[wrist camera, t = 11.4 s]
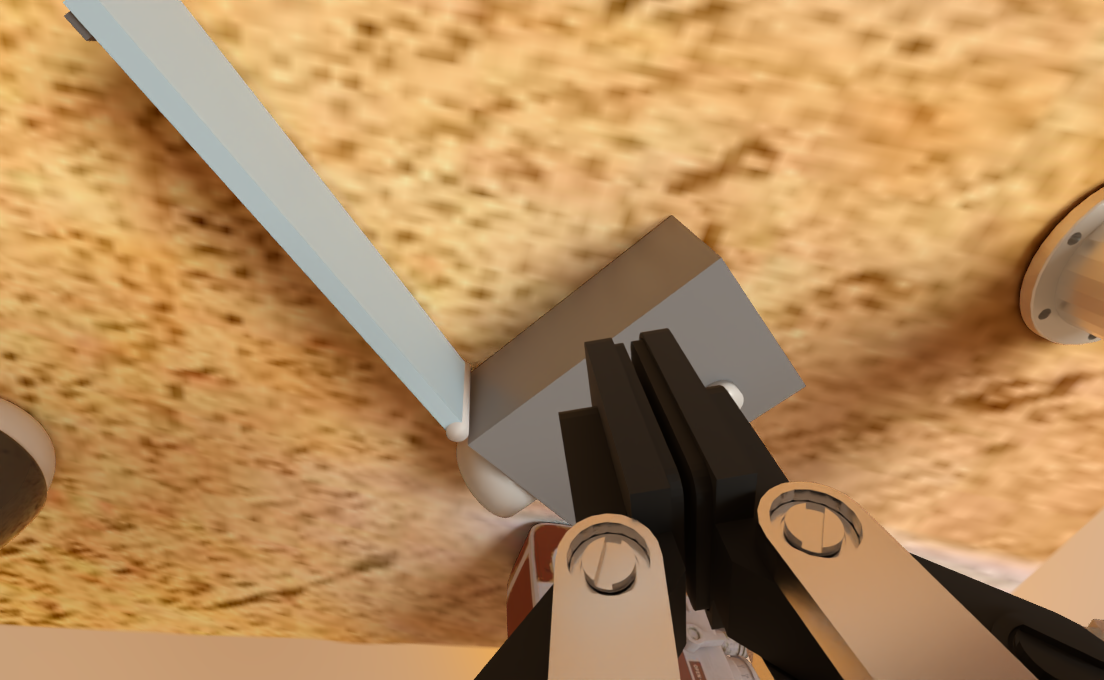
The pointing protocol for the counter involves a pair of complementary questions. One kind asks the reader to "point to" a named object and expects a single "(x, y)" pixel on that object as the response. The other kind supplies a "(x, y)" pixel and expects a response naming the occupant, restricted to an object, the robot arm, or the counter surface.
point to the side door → (278, 189)
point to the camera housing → (621, 314)
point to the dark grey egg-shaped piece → (22, 469)
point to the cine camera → (704, 657)
